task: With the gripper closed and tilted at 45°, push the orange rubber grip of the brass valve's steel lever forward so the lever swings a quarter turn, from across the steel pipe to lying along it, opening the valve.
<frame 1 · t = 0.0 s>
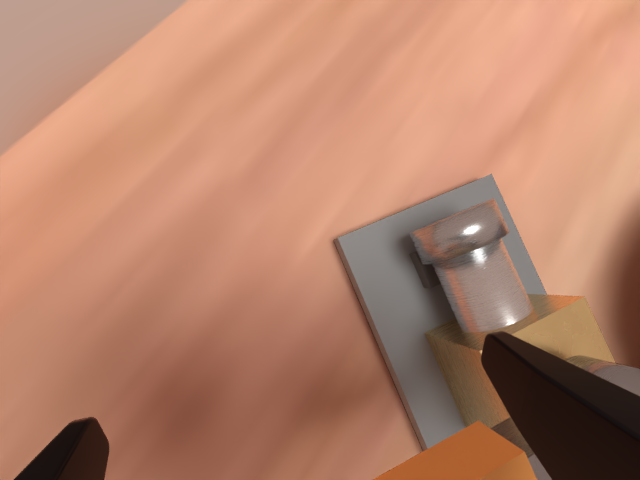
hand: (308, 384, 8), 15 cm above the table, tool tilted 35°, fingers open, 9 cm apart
valve assembly: (473, 353, 24), on the table
valve lever: (521, 452, 14), point 10 cm above the table, hinge at 90.0°
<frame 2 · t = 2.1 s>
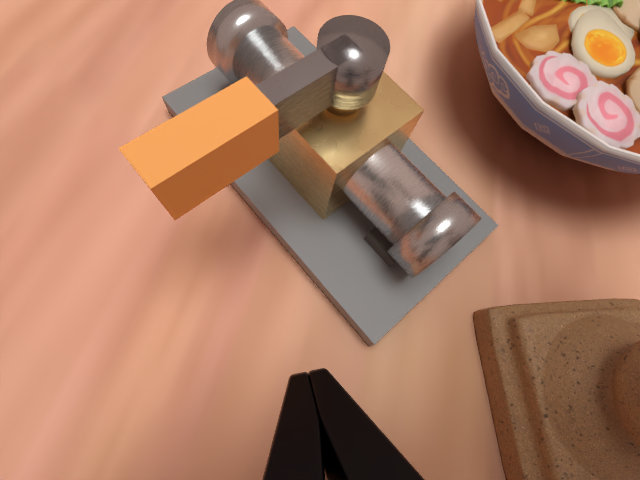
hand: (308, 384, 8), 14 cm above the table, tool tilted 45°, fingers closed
ramen bowl: (556, 102, 30), on the table
candle holder: (566, 391, 22), on the table
valve assembly: (325, 171, 25), on the table
valve lever: (274, 110, 15), point 10 cm above the table, hinge at 90.0°
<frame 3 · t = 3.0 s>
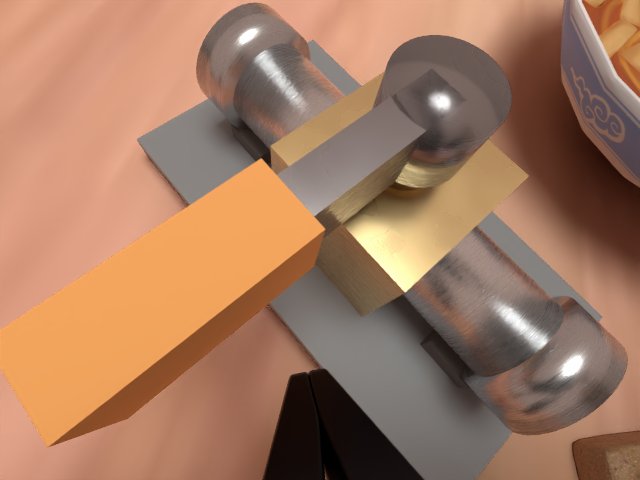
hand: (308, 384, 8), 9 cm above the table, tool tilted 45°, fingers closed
valve assembly: (358, 236, 19), on the table
valve lever: (308, 206, 8), point 10 cm above the table, hinge at 90.0°
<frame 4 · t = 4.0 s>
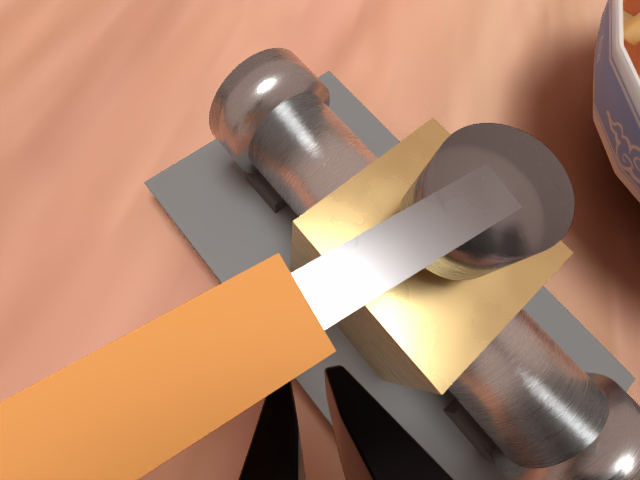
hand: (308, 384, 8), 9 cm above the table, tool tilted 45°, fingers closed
valve assembly: (376, 284, 18), on the table
valve lever: (324, 297, 8), point 10 cm above the table, hinge at 80.7°, touching gripper
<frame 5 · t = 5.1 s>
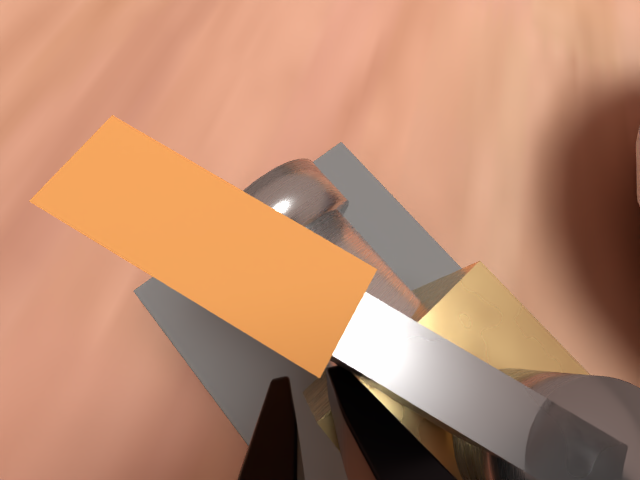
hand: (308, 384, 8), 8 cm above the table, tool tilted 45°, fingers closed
valve assembly: (398, 394, 16), on the table
valve lever: (360, 340, 7), point 10 cm above the table, hinge at 19.1°, touching gripper
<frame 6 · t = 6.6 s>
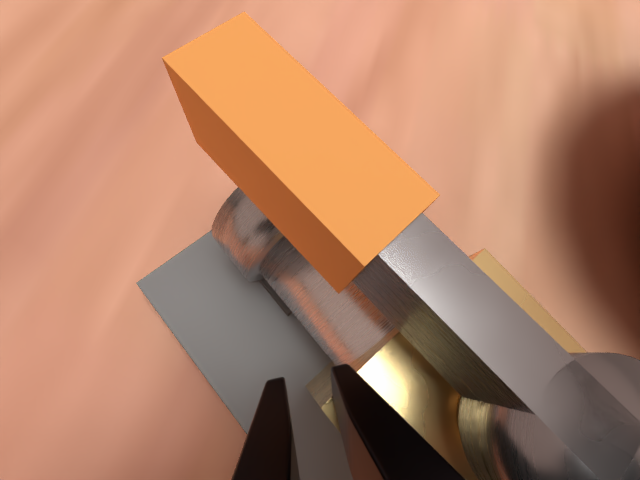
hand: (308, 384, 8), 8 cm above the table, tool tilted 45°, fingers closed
valve assembly: (401, 389, 16), on the table
valve lever: (400, 270, 7), point 10 cm above the table, hinge at 2.6°
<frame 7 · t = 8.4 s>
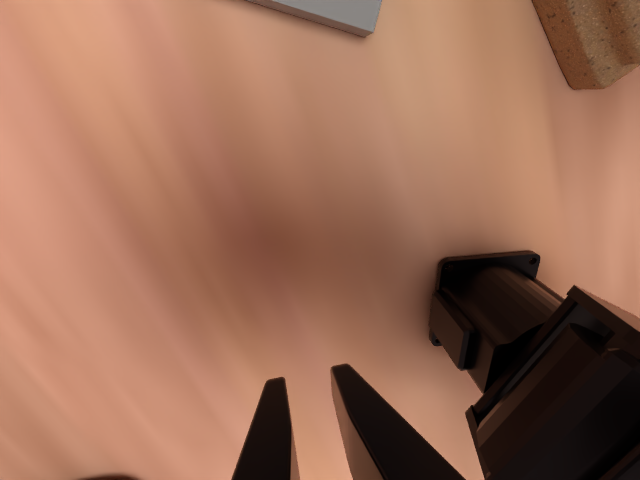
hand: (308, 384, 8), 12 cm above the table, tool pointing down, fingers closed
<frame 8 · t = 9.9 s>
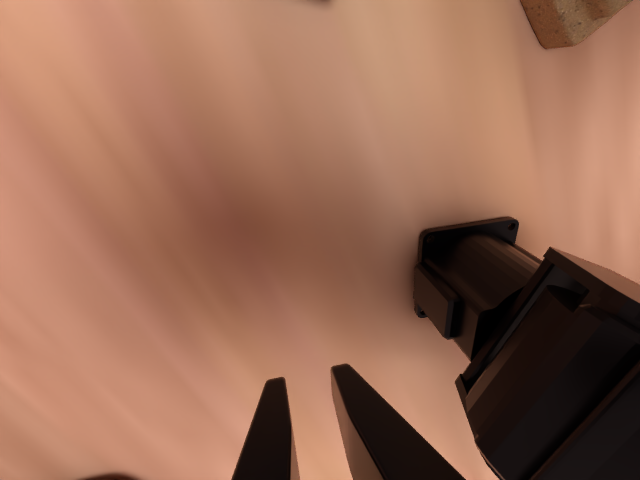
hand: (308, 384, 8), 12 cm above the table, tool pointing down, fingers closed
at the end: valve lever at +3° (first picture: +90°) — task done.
